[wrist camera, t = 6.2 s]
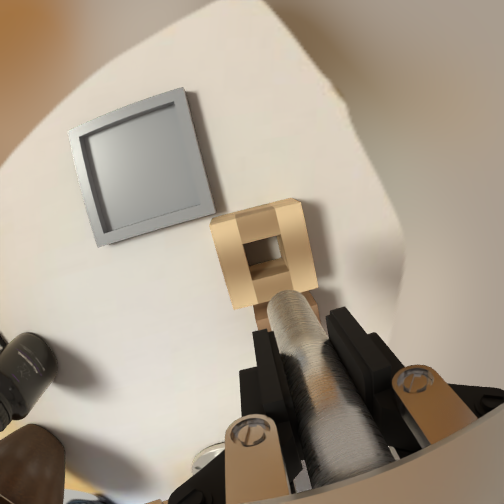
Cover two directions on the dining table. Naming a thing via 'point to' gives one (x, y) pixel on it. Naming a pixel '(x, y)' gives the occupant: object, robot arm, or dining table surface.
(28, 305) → the dining table surface
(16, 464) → the plant pot
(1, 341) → the disk drive
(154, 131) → the tray
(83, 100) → the dining table surface
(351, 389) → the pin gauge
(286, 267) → the oak block
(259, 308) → the walnut block
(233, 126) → the dining table surface
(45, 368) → the supplement bottle
